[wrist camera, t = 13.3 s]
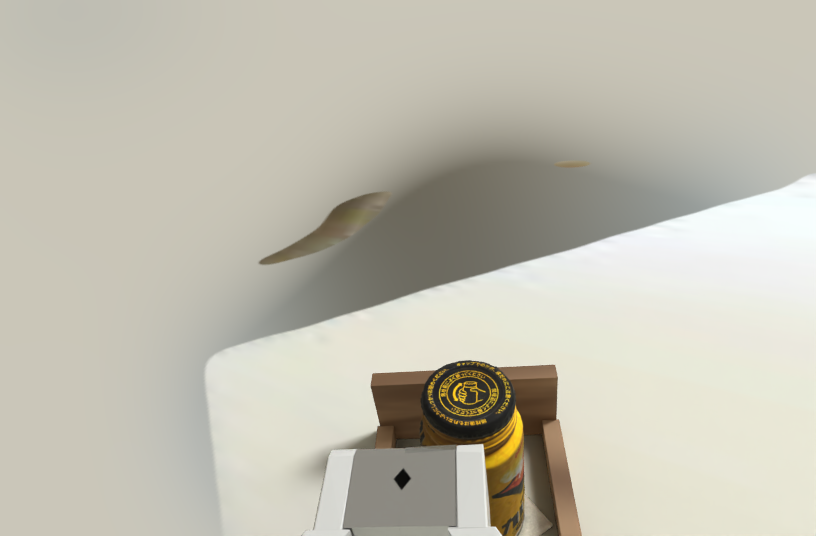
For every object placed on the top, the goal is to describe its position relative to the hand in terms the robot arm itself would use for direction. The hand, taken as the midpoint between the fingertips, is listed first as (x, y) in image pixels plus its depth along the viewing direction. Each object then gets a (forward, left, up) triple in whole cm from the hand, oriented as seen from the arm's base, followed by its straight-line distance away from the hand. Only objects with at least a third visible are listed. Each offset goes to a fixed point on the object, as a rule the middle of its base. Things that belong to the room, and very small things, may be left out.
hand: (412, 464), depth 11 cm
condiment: (-12, -8, -26) cm, 30 cm away
